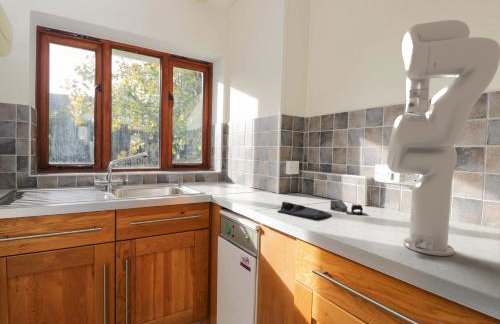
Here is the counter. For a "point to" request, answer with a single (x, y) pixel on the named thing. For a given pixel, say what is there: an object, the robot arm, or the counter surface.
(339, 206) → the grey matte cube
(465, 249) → the counter surface
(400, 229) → the counter surface
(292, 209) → the dark grey rough slab
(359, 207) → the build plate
